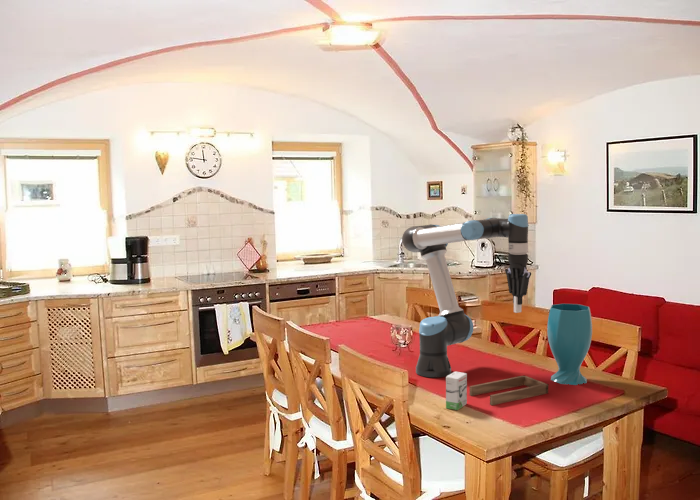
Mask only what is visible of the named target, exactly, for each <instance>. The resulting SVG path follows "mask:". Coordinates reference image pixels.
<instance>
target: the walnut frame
mask: <svg viewBox="0 0 700 500" xmlns="http://www.w3.org/2000/svg"><path fill="white" fill-rule="evenodd" d="M521 386H525V387H522V388H519V389H514V390H510V391H509V390H508V391H504V392H499V393H495V394H490V395H489V405H490V406H497V405H500V404H505V403H509V402H514V401H519V400H523V399H527V398H533V397H536V396H542V395H546V394H549V384H548V383H547V382H546V383H545V382H543V381H540V380H538V379H535V378H533V377H530V376H527V375H519V376H514V377H513V376H512V377H510V378H504V379H500V380H493V381H489V382H484V383H479V384H473V385H469V396H471V397H473V396H477V395H483V394H488V393H492V392H496V391H497V392H498V391H502V390H506V389H512V388H516V387H521Z"/></svg>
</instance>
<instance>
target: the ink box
mask: <svg viewBox="0 0 700 500" xmlns="http://www.w3.org/2000/svg"><path fill="white" fill-rule="evenodd" d="M467 380H468V373H466V372H460V371H453V372H451V374H450V375H448V376H445V408H446V409H450V410H453V411H459V410H460V409H461V408H463V407H464V406H466V405H467V404H468V403H467V402H468V396H467V395H468V393H467V392H468V391H467V390H468V381H467Z"/></svg>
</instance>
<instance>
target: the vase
mask: <svg viewBox="0 0 700 500" xmlns="http://www.w3.org/2000/svg"><path fill="white" fill-rule="evenodd" d="M547 317H548V319H547V328H546V329H547V333H546V334H547V340H548V344H549V348H550V351H551V353H552V355H553V358H554V360H555V362H556V364H557V368H558V371H556V372H555V373H554V374H552V375H551V376H550V381H552V382H555V383H558V384H560V385H568V384H569V385H570V386H571V385H573V386H578V384H579V385H583V383H584V384H587V382H588V379H587V378H586V377H585V376H584V375H583V374H582V372H581V366H582V363H583V362H584V360H585V358H586V356H587V354H588V352H589V350H590V347H591V343H592V338H593V337H592V336H593V322H592V321H593V320H592V313H591V308H590V306H587V305H583V304H578V303H558V304H551V306H550V309H549V313H548V316H547Z"/></svg>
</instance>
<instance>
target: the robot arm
mask: <svg viewBox="0 0 700 500" xmlns="http://www.w3.org/2000/svg"><path fill="white" fill-rule="evenodd" d="M490 238H491V239H493V238H508V239H507V240H508V242H507V243H508V247H507V248H508V255H507V258H508V259H507V262H508V264H509V266H508V268H506V269H505V270H504V272H505V275H506V279H507V287H508V293H509V294H511V295H512V303H513V313H515V314H517V313H522V312H523V311H522V308H523V306H522V305H523V297H524V296H527V294H528V288H529V283H530V277H531V275H532V272H530V271H528V270H527V269H528V268H527V264H528V262H529V254H528V253H529V216H528V215H527V214H526V213H511V214H509V215H508V217H507V218H498V217H488V218H485V219H484V218H483V219H473V220H472V219H471V220H467V221H462V222H456V223H451V224H444V225H439V224H425V225H414V226H410V227H408V228H406V229H405V231H404V232H403V233H402V237H401V241H402V246H403V247H404V248H405V249H406V250H407V251H408V252H411V253H420V256H421V258H422V259H424V260H425V262H426V266H427V269H428V273H429V277H430V280H431V284H432V287H433V291H434V295H435V299H436V302H437V306H438V309H439V314H437V315H435V316H429V317H426V318H423V319H422V320H421V321H420V322H419V330H418V332H419V335H418V336H419V338H418V339H419V355H418V359H417V362H416V365H415V373H416V375H418V376H421V377H424V378H425V377H426V378H443V377H445V378H446V376H448V375H450V374H451V373H452V366H451V362H450V360H449V357H448V346H451V345H457V344H461V343H463V342H466V341H468V340H470V339H471V338H472V335H473V333H474V322H473V320H472V319H471V317H469V315H466V313H465V312H464V309H463V308H462V307H460V306H459V302H458V300H457V295H456V292H455V289H454V284H453V282H452V281H453V280H452V277H451V274H450V271H449V270H450V269H449V267H448V263H447V260H446V257H445V256H446V255H445V254H446V253H447V246H448V245H449V244H452V243H459V242H466V241H476V240H482V239H490Z"/></svg>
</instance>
